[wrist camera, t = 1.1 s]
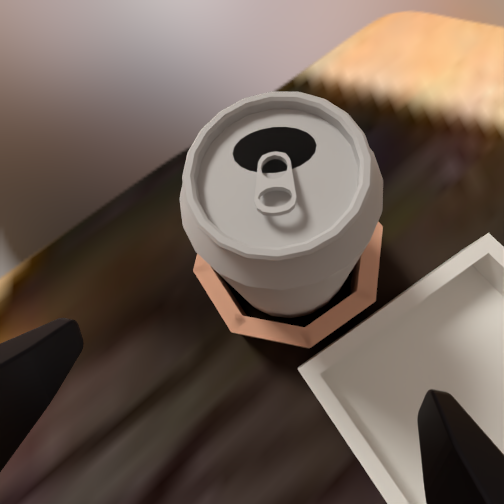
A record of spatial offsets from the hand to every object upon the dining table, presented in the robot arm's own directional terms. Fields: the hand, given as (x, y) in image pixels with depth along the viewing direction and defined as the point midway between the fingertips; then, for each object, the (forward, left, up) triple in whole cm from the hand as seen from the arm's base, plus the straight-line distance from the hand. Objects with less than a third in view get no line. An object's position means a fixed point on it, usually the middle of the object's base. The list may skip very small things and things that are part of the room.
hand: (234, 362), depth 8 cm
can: (+4, -4, -13) cm, 14 cm away
